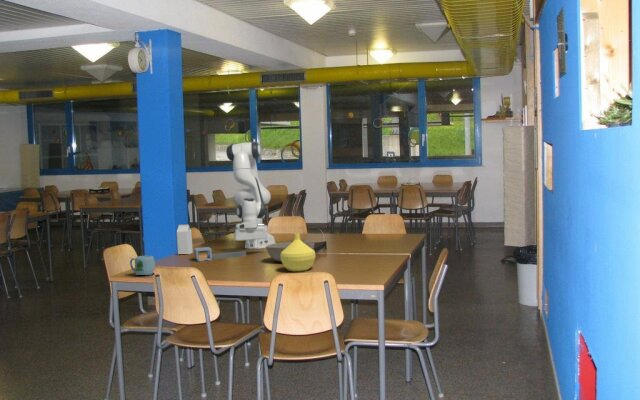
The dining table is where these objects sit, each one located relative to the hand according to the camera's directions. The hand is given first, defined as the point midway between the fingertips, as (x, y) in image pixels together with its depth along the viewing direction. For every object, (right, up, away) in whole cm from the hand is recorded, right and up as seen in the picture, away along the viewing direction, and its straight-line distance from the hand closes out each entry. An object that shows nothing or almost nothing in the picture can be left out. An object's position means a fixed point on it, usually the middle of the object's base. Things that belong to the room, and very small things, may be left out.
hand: (251, 247), depth 411 cm
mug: (-53, -12, -50) cm, 74 cm away
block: (-29, -7, -9) cm, 31 cm away
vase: (+31, -8, -60) cm, 68 cm away
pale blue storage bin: (-28, -7, -8) cm, 30 cm away
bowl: (+25, -6, -29) cm, 39 cm away
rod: (-14, -6, -4) cm, 16 cm away
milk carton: (-44, -6, +20) cm, 49 cm away
